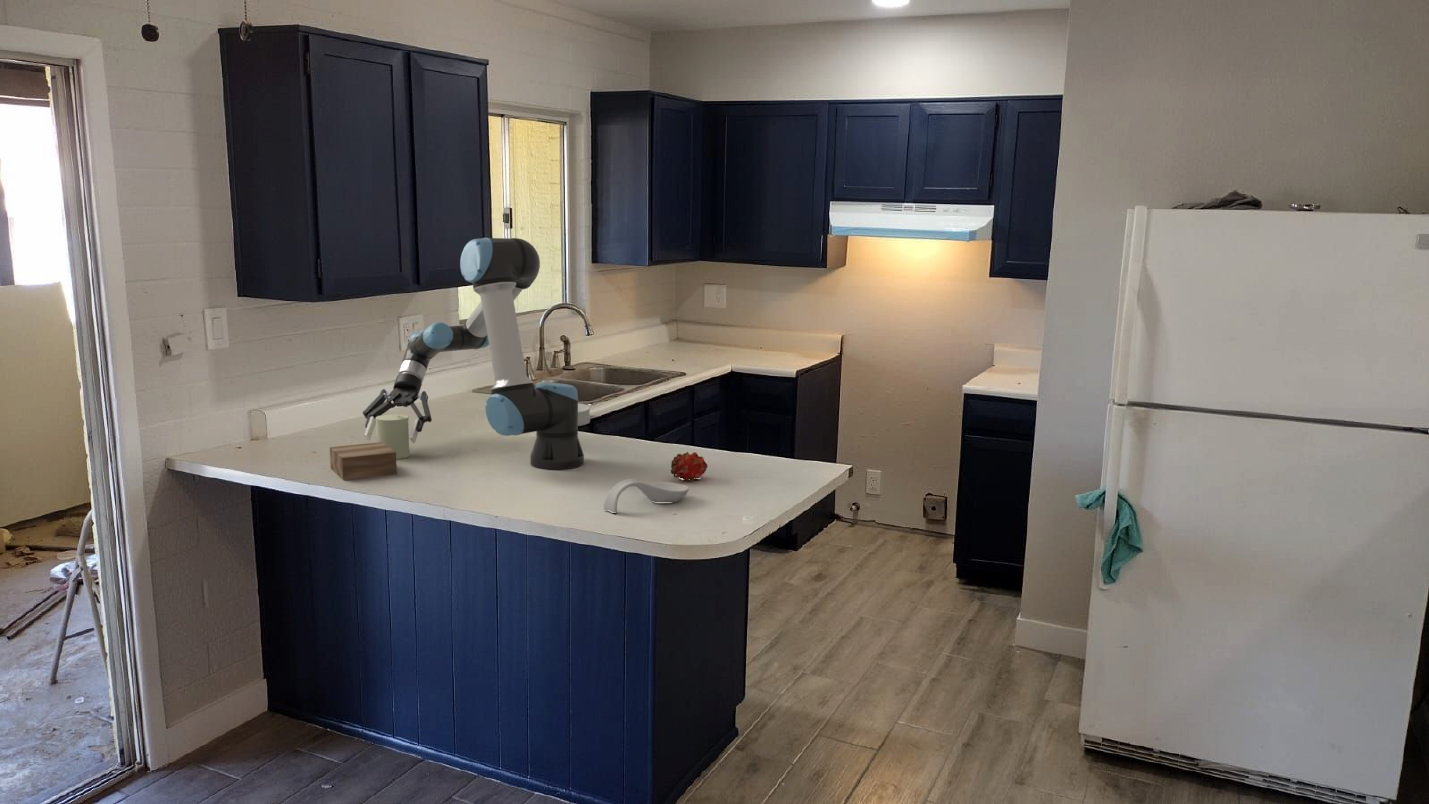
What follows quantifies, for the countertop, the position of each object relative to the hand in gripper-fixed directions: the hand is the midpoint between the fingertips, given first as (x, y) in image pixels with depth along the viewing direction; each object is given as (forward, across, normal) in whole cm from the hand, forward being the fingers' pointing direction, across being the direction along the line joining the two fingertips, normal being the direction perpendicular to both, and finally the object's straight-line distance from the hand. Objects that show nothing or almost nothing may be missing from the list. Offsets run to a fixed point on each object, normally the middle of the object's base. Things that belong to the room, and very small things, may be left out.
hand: (389, 439), depth 293 cm
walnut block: (+15, 0, +8) cm, 17 cm away
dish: (-39, -32, -48) cm, 70 cm away
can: (+3, 0, -5) cm, 6 cm away
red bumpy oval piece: (+8, -88, 0) cm, 89 cm away
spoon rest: (+27, -82, +19) cm, 88 cm away
